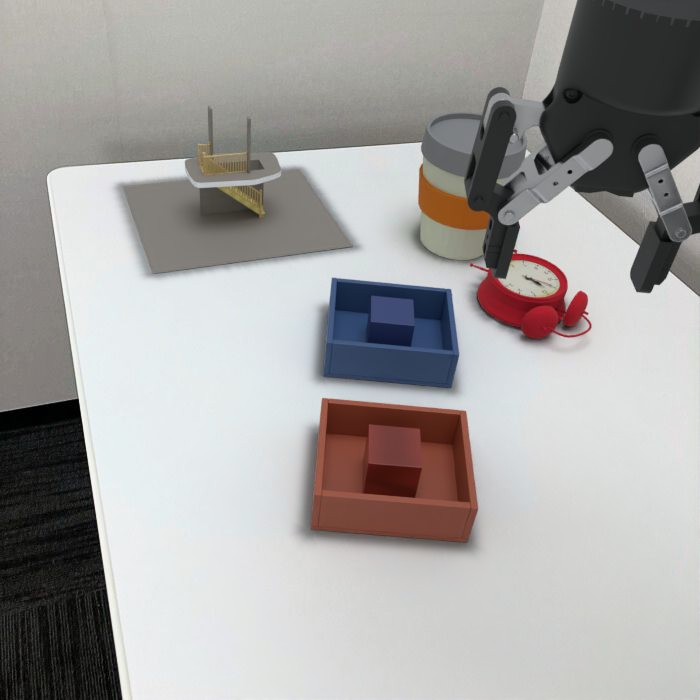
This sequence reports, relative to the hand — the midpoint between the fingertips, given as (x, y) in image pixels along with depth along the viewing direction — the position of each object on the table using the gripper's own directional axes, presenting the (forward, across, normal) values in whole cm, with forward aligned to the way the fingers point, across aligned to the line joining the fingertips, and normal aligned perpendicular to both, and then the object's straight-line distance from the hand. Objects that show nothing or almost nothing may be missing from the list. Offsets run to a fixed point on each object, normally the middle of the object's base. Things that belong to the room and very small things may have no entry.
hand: (568, 278), depth 46 cm
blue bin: (+28, -7, +26) cm, 39 cm away
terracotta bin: (+28, -7, +7) cm, 30 cm away
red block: (+28, -7, +7) cm, 29 cm away
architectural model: (+28, -27, +50) cm, 63 cm away
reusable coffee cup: (+28, +2, +49) cm, 57 cm away
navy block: (+28, -7, +26) cm, 39 cm away
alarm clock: (+28, +10, +35) cm, 46 cm away
